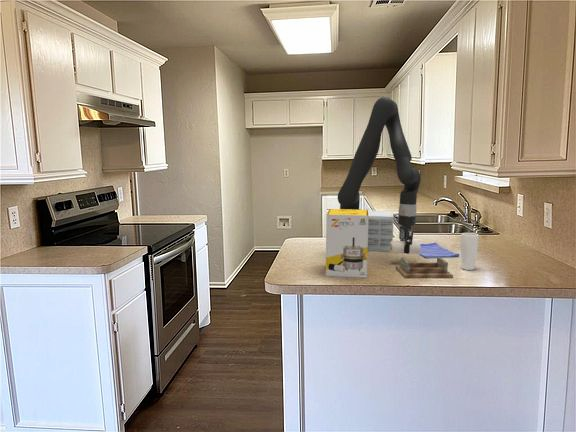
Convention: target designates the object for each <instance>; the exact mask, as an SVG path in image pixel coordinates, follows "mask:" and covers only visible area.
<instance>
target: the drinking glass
mask: <svg viewBox="0 0 576 432" xmlns="http://www.w3.org/2000/svg"><path fill="white" fill-rule="evenodd" d="M479 239H480V237H479V234H478V233H475V232H462V233H461V237H460V254H461V255H460V256H461V257H460V258H461V261H460V268H461V269H463V270H465V271H473V270H475V269H476V262H477V261H476V260H477V254H478V248H479V241H480V240H479Z"/></svg>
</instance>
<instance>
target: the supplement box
mask: <svg viewBox="0 0 576 432" xmlns="http://www.w3.org/2000/svg"><path fill="white" fill-rule="evenodd" d="M368 215H369V218H368V252H383V253H384V252H386V253H387V252H388V253H391V252H390V242H391V241H394V239H393V238H394V223H395V222H394V220H395V219H394V214H393V211H388V210H387V211H384V210H383V211H381V210H368Z"/></svg>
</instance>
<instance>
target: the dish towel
mask: <svg viewBox="0 0 576 432" xmlns="http://www.w3.org/2000/svg"><path fill="white" fill-rule="evenodd" d="M420 247H421V248H420V253H419V254H418V255H419V256H421V257H422V258H426V259H429V260H430V259H437V257H441V258H442V259H452V258H460V256H461V255H460V254H461V253H458V252H453V251H452V250H449V249H448V248H445V247H443V246H441V245H440V244H438V243H437V242H431V243H420Z"/></svg>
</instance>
